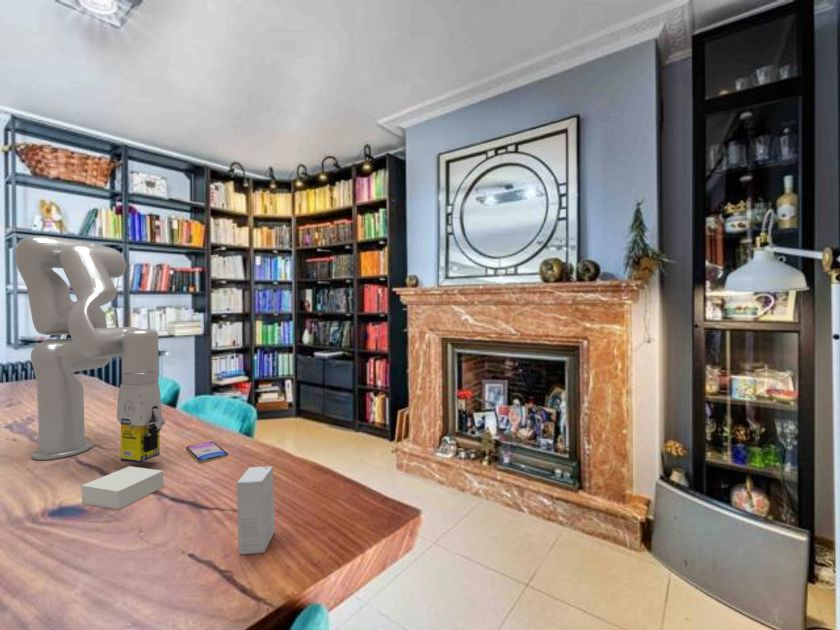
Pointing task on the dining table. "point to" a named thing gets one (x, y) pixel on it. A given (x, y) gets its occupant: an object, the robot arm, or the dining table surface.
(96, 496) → the white square block
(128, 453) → the supplement box
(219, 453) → the smartphone
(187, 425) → the dining table surface
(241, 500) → the skincare box
